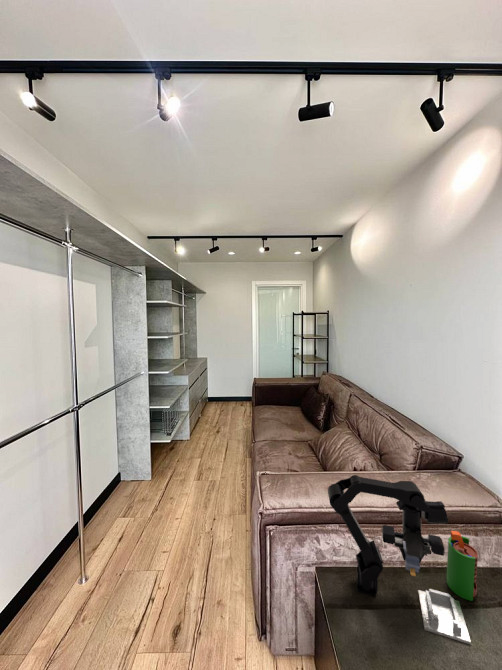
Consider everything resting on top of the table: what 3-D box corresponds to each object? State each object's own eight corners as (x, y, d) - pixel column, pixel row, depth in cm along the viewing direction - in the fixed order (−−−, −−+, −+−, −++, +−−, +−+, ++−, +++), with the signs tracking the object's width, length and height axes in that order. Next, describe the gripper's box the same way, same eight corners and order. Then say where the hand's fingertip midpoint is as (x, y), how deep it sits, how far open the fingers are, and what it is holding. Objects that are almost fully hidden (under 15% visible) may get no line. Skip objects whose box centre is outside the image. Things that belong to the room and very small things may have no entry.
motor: (483, 602, 101) (485, 547, 99) (454, 598, 103) (455, 544, 101) (468, 575, 111) (470, 525, 109) (441, 572, 113) (442, 522, 111)
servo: (406, 574, 102) (406, 560, 101) (403, 551, 111) (403, 539, 110) (420, 578, 100) (420, 564, 100) (415, 554, 109) (415, 541, 109)
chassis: (424, 629, 94) (424, 618, 93) (418, 592, 106) (418, 582, 105) (470, 644, 89) (471, 632, 89) (458, 603, 101) (459, 593, 101)
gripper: (383, 530, 100) (383, 573, 101) (449, 544, 93) (448, 590, 95) (382, 508, 110) (382, 548, 112) (441, 520, 103) (440, 561, 105)
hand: (411, 561), depth 105 cm, fingers closed on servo, 4 cm apart
